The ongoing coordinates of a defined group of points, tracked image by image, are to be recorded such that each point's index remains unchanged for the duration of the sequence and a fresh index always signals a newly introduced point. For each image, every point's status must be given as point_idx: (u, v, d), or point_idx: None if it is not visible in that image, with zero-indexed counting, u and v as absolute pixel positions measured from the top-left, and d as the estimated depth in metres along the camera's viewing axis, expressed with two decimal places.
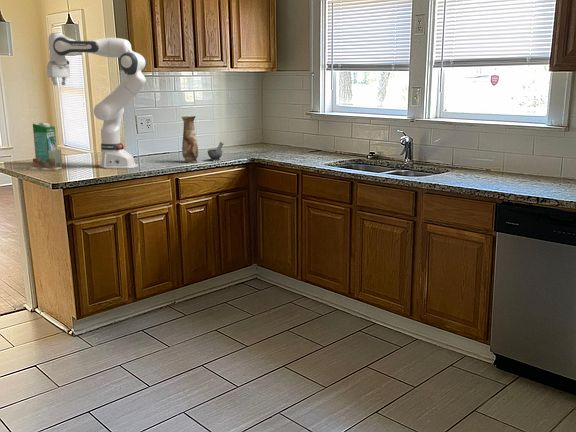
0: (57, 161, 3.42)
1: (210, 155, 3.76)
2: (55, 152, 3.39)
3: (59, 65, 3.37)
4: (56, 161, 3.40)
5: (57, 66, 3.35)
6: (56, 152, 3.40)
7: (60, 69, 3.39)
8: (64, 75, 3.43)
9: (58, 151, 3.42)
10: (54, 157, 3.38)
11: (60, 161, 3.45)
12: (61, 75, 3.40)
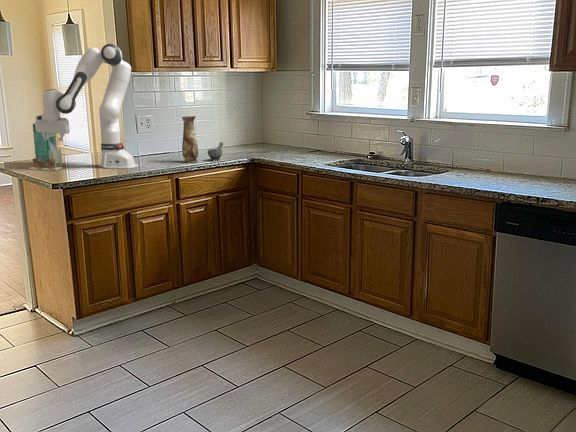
0: (57, 161, 3.42)
1: (210, 155, 3.76)
2: (55, 152, 3.39)
3: None
4: (56, 161, 3.40)
5: None
6: (56, 152, 3.40)
7: None
8: None
9: (58, 151, 3.42)
10: (54, 157, 3.38)
11: (60, 161, 3.45)
12: None
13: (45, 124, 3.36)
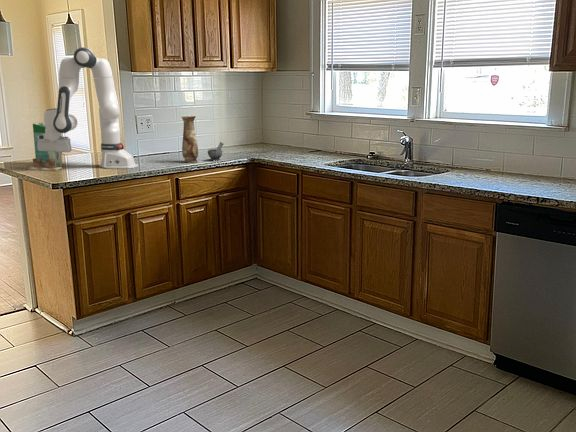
0: (57, 161, 3.42)
1: (210, 155, 3.76)
2: (55, 152, 3.39)
3: None
4: (56, 161, 3.40)
5: None
6: (56, 152, 3.40)
7: None
8: None
9: None
10: (54, 157, 3.38)
11: (60, 161, 3.45)
12: None
13: (47, 143, 3.39)
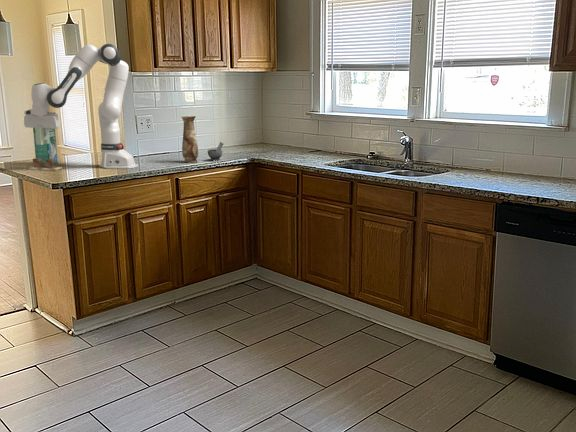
0: (44, 138, 3.31)
1: (210, 155, 3.76)
2: (42, 128, 3.28)
3: None
4: (43, 138, 3.30)
5: None
6: (43, 128, 3.29)
7: None
8: None
9: None
10: (41, 133, 3.27)
11: (47, 138, 3.34)
12: None
13: (34, 119, 3.28)
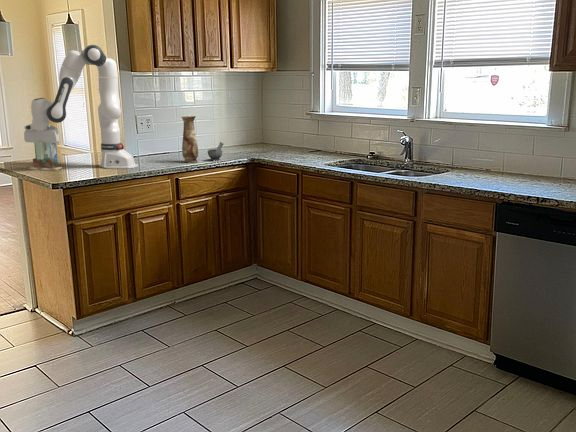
0: (45, 152, 3.32)
1: (210, 155, 3.76)
2: (42, 143, 3.29)
3: None
4: (44, 152, 3.31)
5: None
6: (44, 143, 3.30)
7: None
8: None
9: None
10: (41, 148, 3.28)
11: (48, 152, 3.35)
12: None
13: (34, 134, 3.29)
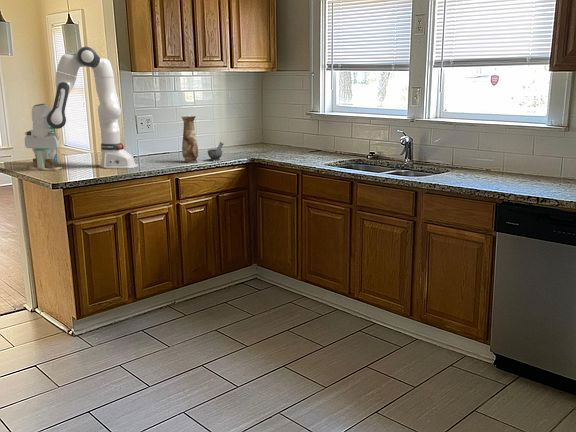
0: None
1: (210, 155, 3.76)
2: (43, 152, 3.30)
3: None
4: (44, 161, 3.32)
5: None
6: (44, 152, 3.31)
7: None
8: None
9: (46, 151, 3.33)
10: (42, 157, 3.29)
11: None
12: None
13: (35, 139, 3.30)
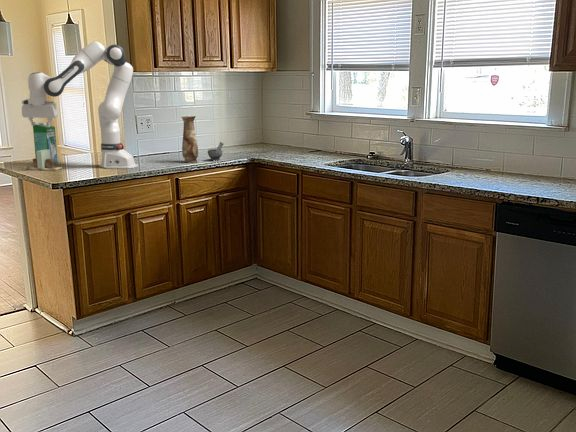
0: None
1: (210, 155, 3.76)
2: (43, 152, 3.30)
3: None
4: (44, 161, 3.32)
5: None
6: (44, 152, 3.31)
7: None
8: None
9: (46, 151, 3.33)
10: (42, 157, 3.29)
11: None
12: None
13: (32, 108, 3.27)
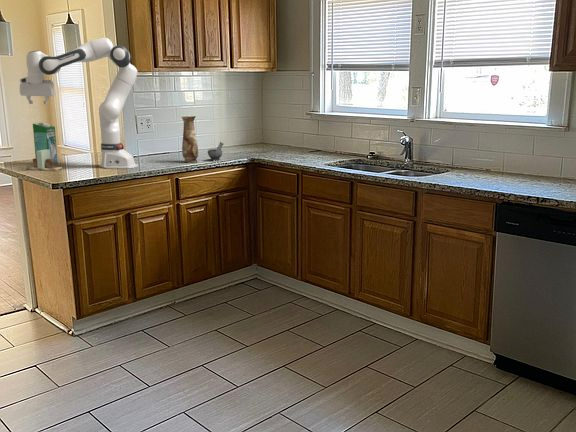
0: None
1: (210, 155, 3.76)
2: (43, 152, 3.30)
3: None
4: (44, 161, 3.32)
5: None
6: (44, 152, 3.31)
7: None
8: None
9: (46, 151, 3.33)
10: (42, 157, 3.29)
11: None
12: None
13: (30, 87, 3.30)
